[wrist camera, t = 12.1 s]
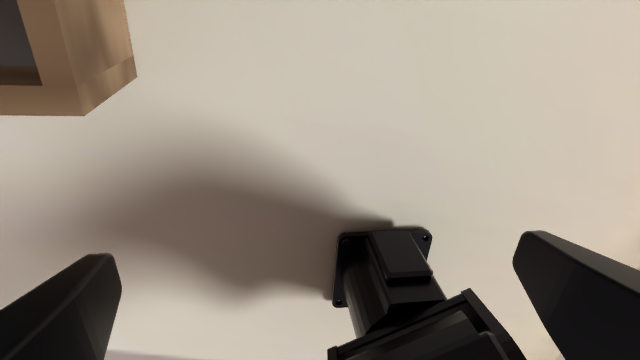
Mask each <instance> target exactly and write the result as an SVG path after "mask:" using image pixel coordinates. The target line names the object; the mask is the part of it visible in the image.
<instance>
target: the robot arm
mask: <svg viewBox="0 0 640 360" xmlns="http://www.w3.org/2000/svg"><path fill="white" fill-rule="evenodd" d="M424 236H426V237H425V238H423V237H424ZM346 239H347V241H346V242H343V241H344V240H346ZM431 241H432V235H431V233H430V232H429V231H428V230H425V229H423V230H392V231H372V232H349V233H342V234H340V235H339V236H338V239H337V248H336V258H335V268H334V279H333V289H332V304H333V306H334V307H336V308H343V307H348V308H349V312H350V316H351V319H352V323H353V327H354V330H355V334H356V338H357V339H355V340H352V341H350V342H348V343H345V344H343V345H341V346H338V347H337V346H334V347H332V348H329V349H328V350H327V353H328V360H527V359H526V358H525V356H524V355H523V353H522V352H521V350H520V349H519V347H518V346H517V344H516V343H515V341H514V340H513V339H512V337H511V336H510V335H509V333H508V332H507V331H506V330H505V329H504V327H503V326H502V325H501V324H500V323H499V322H498V320H497V319H496V318H495V317H494V316H493V314H492V313H491V312H490V311H489V310H488V309H487V307H486V306H485V305H484V304H483V303H482V301H481V300H480V299H479V298H478V297H477V296H476V294H475V293H474V292H473V291H472V290H471V288H468V289H466V290H464V291H461V294H459V295H457V296H454V297H452V298H450V299H447V298H446V296H445V294H444V293H443V291H442V289H441V288H440V286H439V284H438V283H437V281H436V279H435V278H434V276H433V271H432V269H431V268H430V266H429V264H428V263H427V257H428V253H429V249H430V245H431ZM513 267H514V270H515V272H516V274H517V276H518V278H519V280H520V281H521V283H522V285H523V287H524V289H525V291H526V293H527V295H528V297H529V299H530V300H531V302H532V304H533V306H534V308H535V310H536V312H537V314H538V316H539V318H540V319H541V321H542V323H543V325H544V327H545V328H546V330H547V332H548V333H549V335H550V336H551V338H552V340H553V341H554V343H555V344H556V346H557V347H558V349H559V350H560V352H561V353H562V355H563V357H564V358H565V360H640V271H639V270H637V269H634V268H632V267H630V266H627V265H625V264H622V263H620V262H618V261H615V260H613V259H610V258H608V257H606V256H603V255H601V254H598V253H596V252H593V251H591V250H589V249H586V248H584V247H581V246H579V245H577V244H574V243H572V242H569V241H567V240H565V239H562V238H560V237H557V236H555V235H553V234H550V233H548V232H545V231H541V230H539V231H526V232H524V233H523V234H522V235H521V237H520V240H519V243H518V246H517V248H516V251H515V254H514V256H513ZM121 292H122V285H121V281H120V277H119V274H118V270H117V267H116V263H115V260H114V258H113V256H112V255H111V254H109V253H98V254H88V255H86V256H84V257H83V258H81V259H79V260H78V261H76V262H75V263H73V264H72V265H70V266H69V267H67V268H65V269H64V270H62V271H61V272H59V273H58V274H56V275H55V276H53V277H51V278H50V279H48V280H47V281H45V282H44V283H42V284H41V285H39V286H37V287H36V288H34V289H33V290H31V291H30V292H28V293H27V294H25V295H23V296H22V297H20V298H19V299H17V300H16V301H14V302H12V303H11V304H9V305H8V306H6V307H5V308H3V309H2V310H0V360H104V357H105V353H106V350H107V346H108V342H109V338H110V335H111V331H112V327H113V324H114V320H115V316H116V313H117V309H118V305H119V301H120V298H121ZM339 300H340V301H339Z"/></svg>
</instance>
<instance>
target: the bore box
mask: <svg viewBox="0 0 640 360" xmlns="http://www.w3.org/2000/svg"><path fill="white" fill-rule="evenodd" d="M136 77H137V74H136V68H135V62H134V57H133V51H132V46H131V40H130V35H129V29H128V24H127V18H126V13H125V7H124V1H123V0H0V115H26V116H85V115H86V114H87V113H89V112H90V111H92V110H93V109H94V108H96V107H97V106H98V105H100V104H101V103H102V102H104V101H105V100H107V99H108V98H109V97H111V96H112V95H113V94H115V93H116V92H117V91H119V90H120V89H121V88H123V87H124V86H126V85H127V84H128V83H130V82H131V81H132V80H134V79H135V78H136Z"/></svg>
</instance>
